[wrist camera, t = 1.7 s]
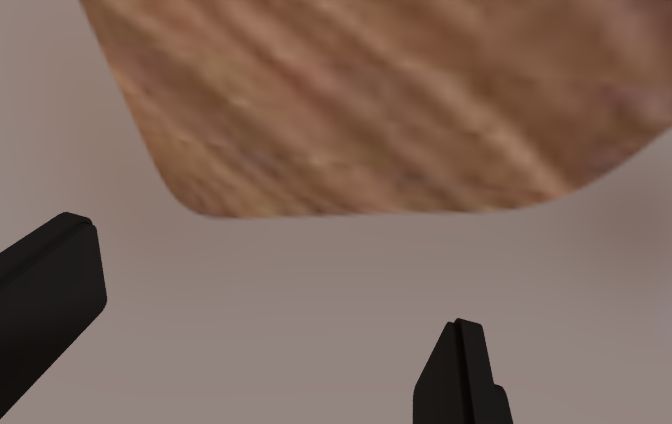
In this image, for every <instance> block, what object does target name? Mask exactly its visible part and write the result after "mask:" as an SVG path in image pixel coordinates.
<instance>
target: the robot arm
mask: <svg viewBox="0 0 672 424" xmlns="http://www.w3.org/2000/svg"><path fill="white" fill-rule="evenodd" d="M106 303H107V295H106V288H105V281H104V275H103V268H102V261H101V255H100V248H99V242H98V236H97V229H96V227H95V226H94V225H93V224H92V221H91V220H90V219H89V218H87V217H83V216H79V215H76V214H72V213H69V212H63V213H61V214H59V215H57V216H56V217H54V218H53V219H51V220H50V221H48V222H47V223H45V224H44V225H42V226H40V227H39V228H37V229H36V230H34V231H33V232H31V233H30V234H28V235H27V236H25V237H24V238H22V239H21V240H19V241H18V242H16V243H15V244H13V245H12V246H10V247H8V248H7V249H5V250H4V251H2V252H1V253H0V419H1V418H2V417H3V416H4V415H5V414H6V412H7V411H8V410H9V409H10V408H11V407H12V406H13V405H14V404H15V403H16V402H17V401H18V400H19V399H20V398H21V397H22V396H23V395H24V394H25V392H26V391H27V390H28V389H29V388H30V387H31V386H32V385H33V384H34V383H35V382H36V381H37V379H39V378H40V377H41V375H42V374H43V373H44V372H45V371H46V370H47V369H48V368H49V367H50V366H51V365H52V364H53V363H54V362H55V361H56V360H57V359H58V357H60V355H61V354H62V353H63V352H64V351H65V350H66V349H67V348H68V347H69V346H70V345H71V344H72V343H73V342H74V341H75V340H76V339H77V337H78V336H79V335H80V334H81V333H82V332H83V331H84V330H85V329H86V328H87V327H88V326H89V325H90V324H91V323H92V322H93V320H95V318H96V317H97V316H98V315H99V314H100V313H101V312H102V311H103V309H104V307H105V305H106ZM413 424H513V420H512V416H511V412H510V407H509V403H508V399H507V395H506V393H505V391H504V389H503V387H501V386H499V385H496V384H494V382H493V377H492V372H491V367H490V362H489V357H488V352H487V347H486V342H485V337H484V332H483V328H482V325H481V324H478V323H475V322H471V321H467V320H463V319H460V318H457V319H456V320H455V322H454V323H452V322H447V324H446V326H445V327H444V329H443V331H442V333H441V335H440V337H439V340H438V342H437V343H436V346H435V348H434V350H433V351H432V354H431V355H430V357H429V360H428V362H427V363H426V366H425V367H424V369H423V371H422V373H421V375H420V378H419V380H418V381H417V384H416V386H415V389H414V394H413Z"/></svg>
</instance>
